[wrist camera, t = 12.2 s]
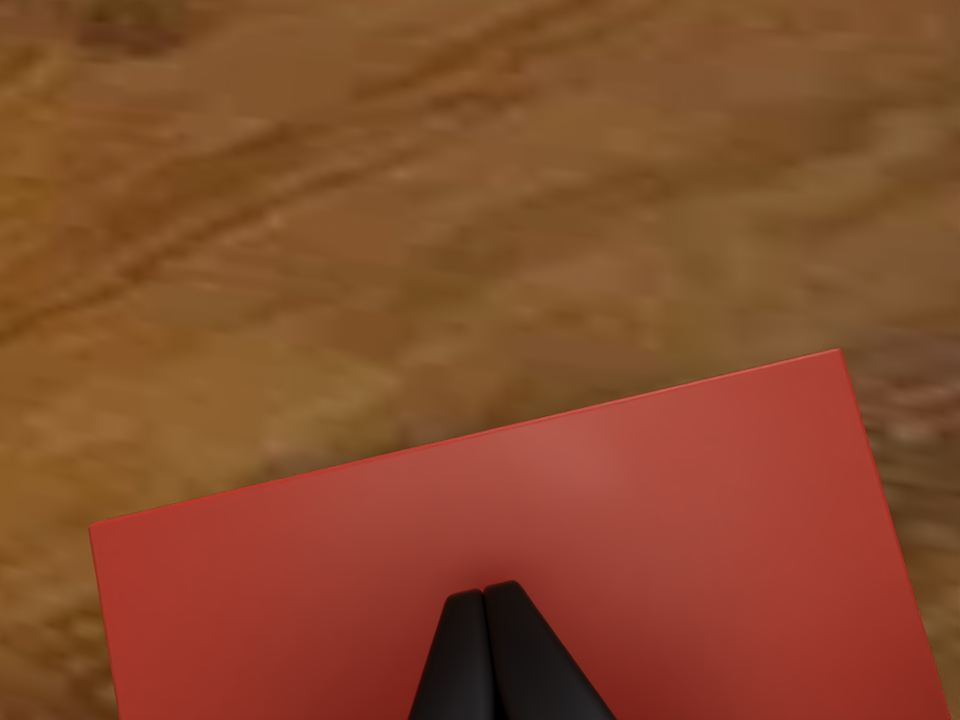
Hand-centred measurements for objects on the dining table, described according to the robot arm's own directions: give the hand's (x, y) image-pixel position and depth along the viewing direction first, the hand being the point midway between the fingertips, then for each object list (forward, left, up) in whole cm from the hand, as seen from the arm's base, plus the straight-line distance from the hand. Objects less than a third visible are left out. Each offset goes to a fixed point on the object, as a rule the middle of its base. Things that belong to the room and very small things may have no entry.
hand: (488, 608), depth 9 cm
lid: (-2, -2, -4) cm, 5 cm away
